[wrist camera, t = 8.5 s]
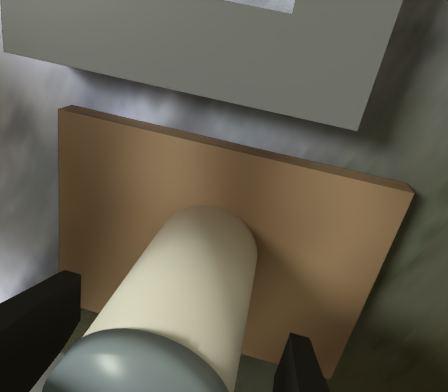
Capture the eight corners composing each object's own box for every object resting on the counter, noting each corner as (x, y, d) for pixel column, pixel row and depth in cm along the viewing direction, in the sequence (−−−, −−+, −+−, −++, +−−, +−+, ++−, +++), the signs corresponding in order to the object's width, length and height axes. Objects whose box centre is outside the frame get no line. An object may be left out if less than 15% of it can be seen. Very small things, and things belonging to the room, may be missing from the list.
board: (70, 289, 19) (59, 302, 19) (71, 105, 15) (57, 108, 14) (328, 362, 18) (330, 379, 17) (406, 183, 14) (414, 193, 13)
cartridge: (152, 280, 17) (45, 459, 10) (161, 191, 15) (35, 332, 8) (248, 304, 16) (212, 511, 9) (270, 216, 15) (245, 390, 7)
